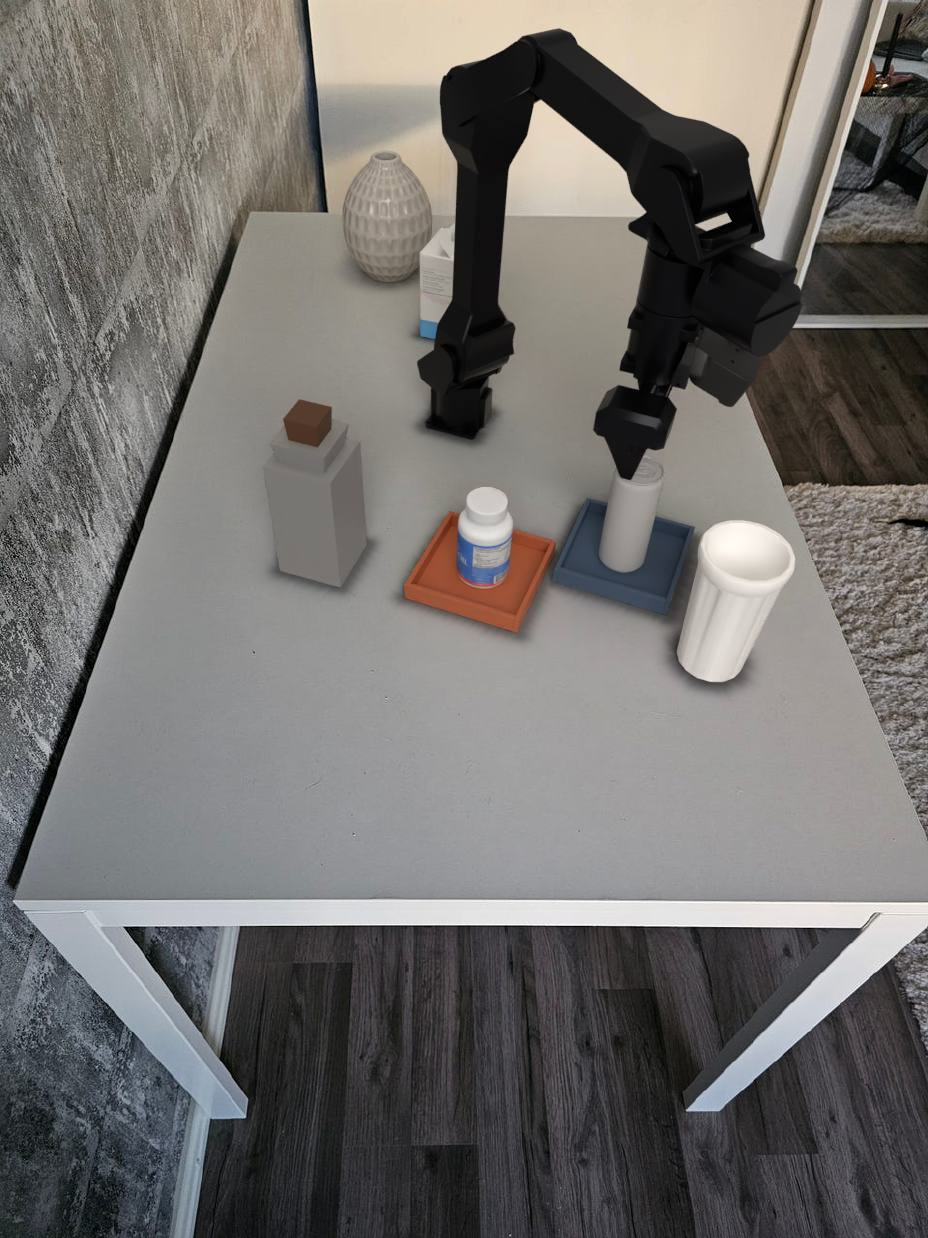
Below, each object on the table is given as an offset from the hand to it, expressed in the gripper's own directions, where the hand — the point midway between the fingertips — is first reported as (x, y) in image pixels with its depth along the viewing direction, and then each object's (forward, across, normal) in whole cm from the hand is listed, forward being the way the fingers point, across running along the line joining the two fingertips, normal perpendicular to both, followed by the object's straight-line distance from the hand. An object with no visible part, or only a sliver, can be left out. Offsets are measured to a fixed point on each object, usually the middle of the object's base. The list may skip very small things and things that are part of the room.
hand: (638, 450), depth 88 cm
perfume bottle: (+13, -14, +28) cm, 34 cm away
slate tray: (+13, -2, -1) cm, 13 cm away
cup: (+13, -12, -12) cm, 21 cm away
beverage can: (+12, -2, -1) cm, 13 cm away
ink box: (+13, +34, +32) cm, 48 cm away
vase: (+13, +44, +47) cm, 66 cm away
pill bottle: (+12, -10, +12) cm, 20 cm away
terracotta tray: (+13, -10, +12) cm, 20 cm away
